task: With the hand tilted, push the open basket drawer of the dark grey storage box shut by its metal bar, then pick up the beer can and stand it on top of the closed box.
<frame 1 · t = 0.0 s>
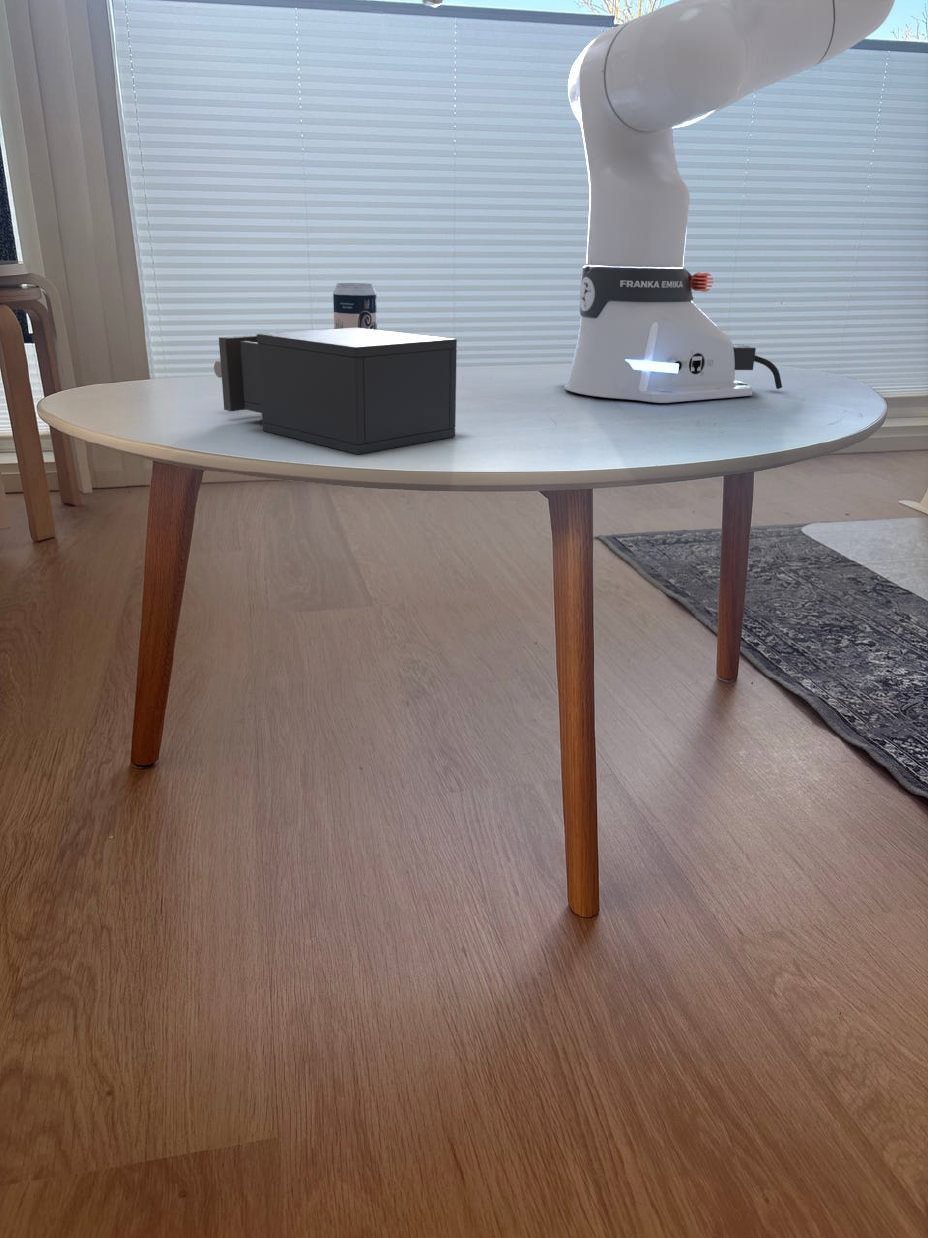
beer can: (357, 397, 106), on the table
drawer: (292, 374, 90), point 4 cm above the table, slide at 6.0 cm
dark grey storage box: (358, 433, 85), on the table
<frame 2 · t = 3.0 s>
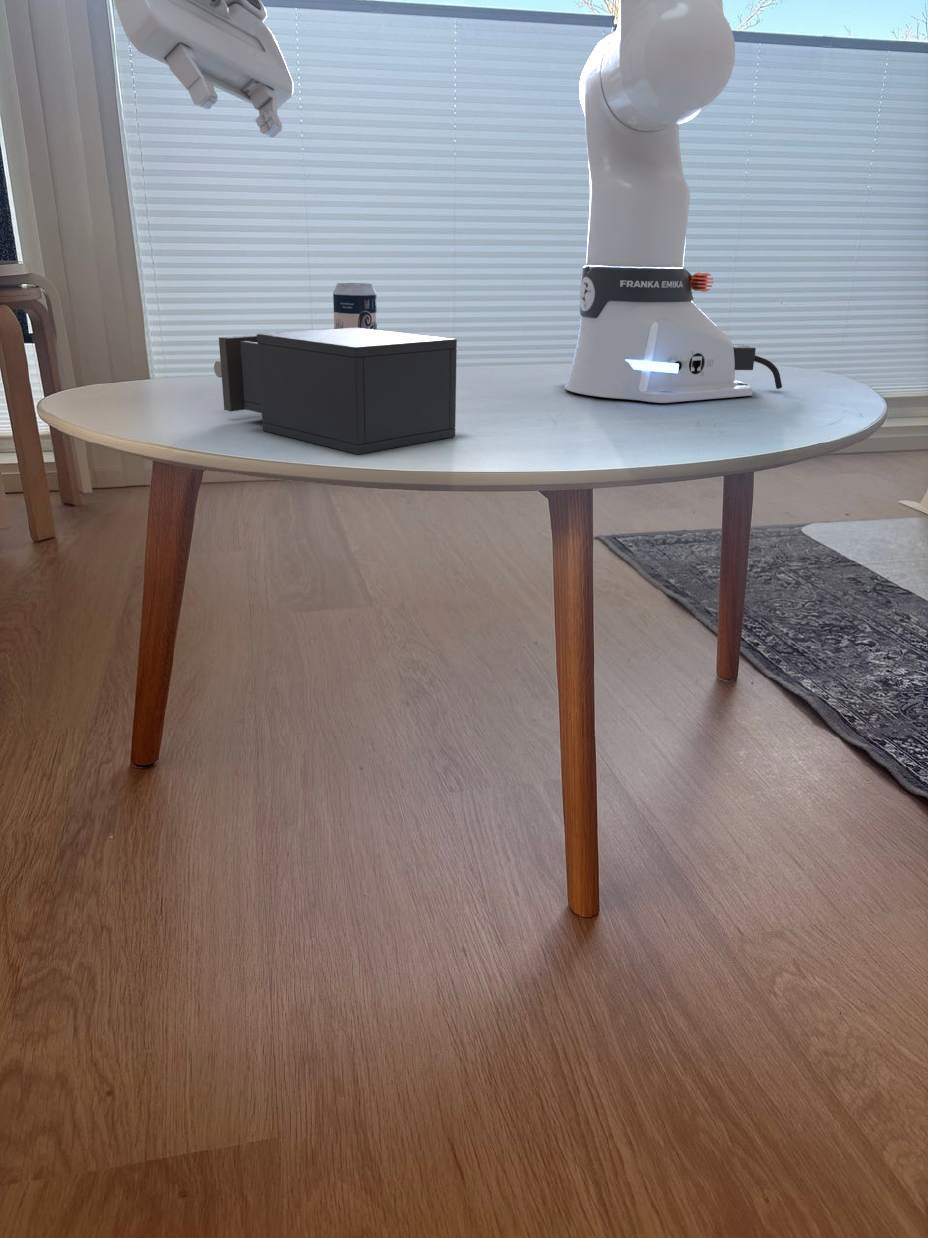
hand: (241, 118, 89), 27 cm above the table, tool tilted 35°, fingers open, 8 cm apart
nothing on the table moved.
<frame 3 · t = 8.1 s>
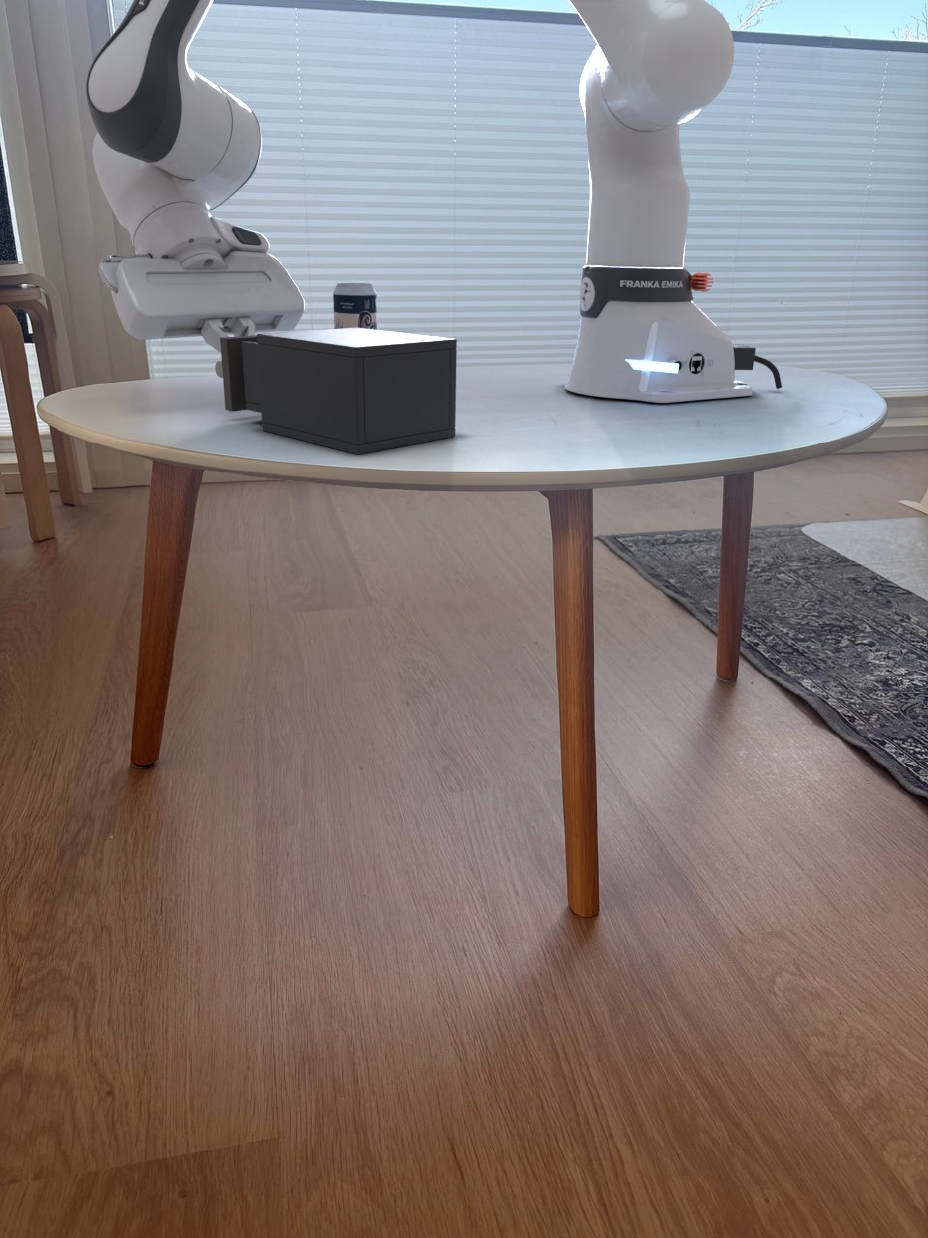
hand: (246, 361, 95), 5 cm above the table, tool tilted 45°, fingers closed, pressing on drawer
drawer: (293, 374, 90), point 4 cm above the table, slide at 5.8 cm, touching gripper
everything else where it was.
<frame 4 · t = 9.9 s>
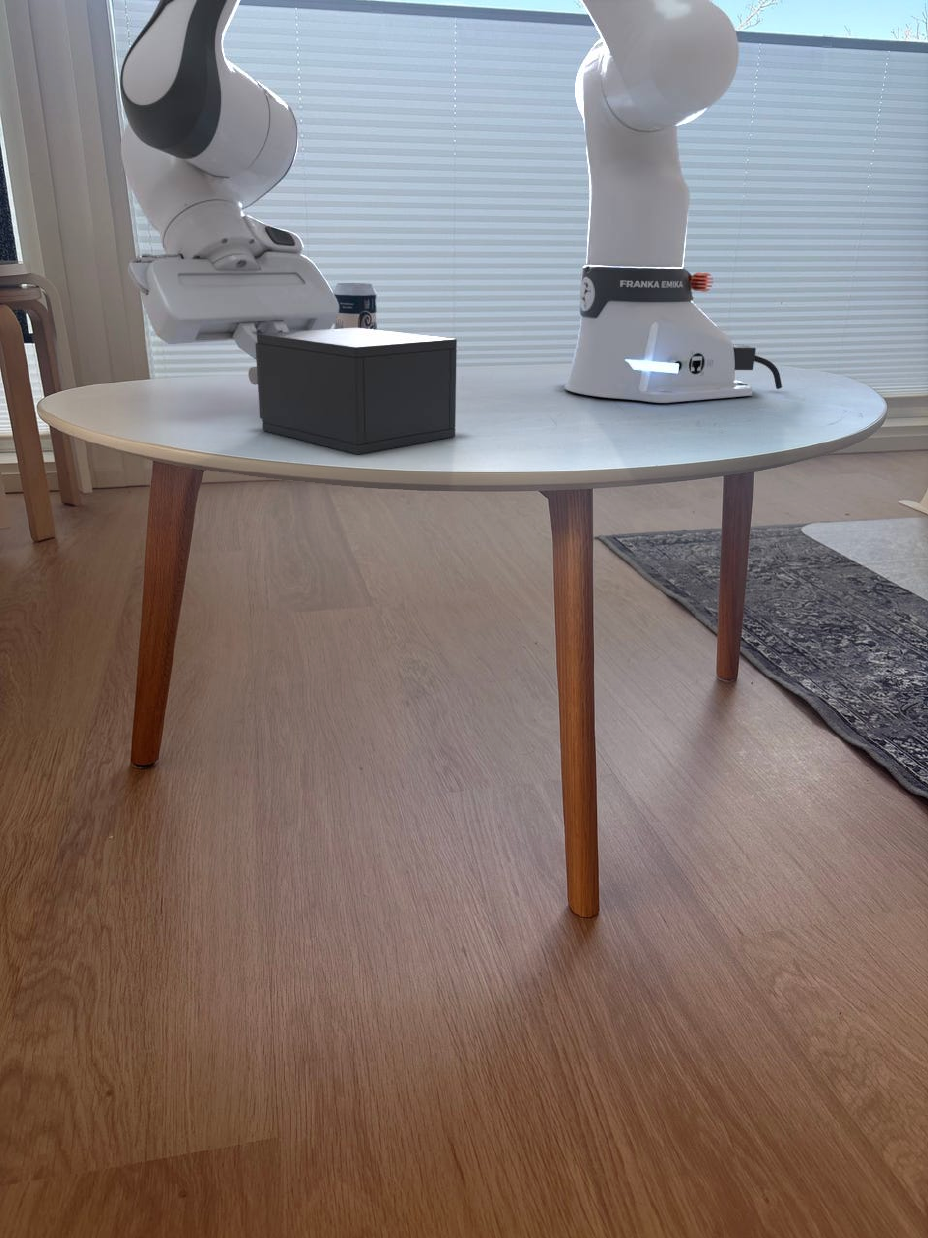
hand: (279, 366, 91), 5 cm above the table, tool tilted 45°, fingers closed, pressing on drawer
drawer: (331, 381, 86), point 4 cm above the table, slide at 0.0 cm, touching dark grey storage box, gripper
everything else where it was.
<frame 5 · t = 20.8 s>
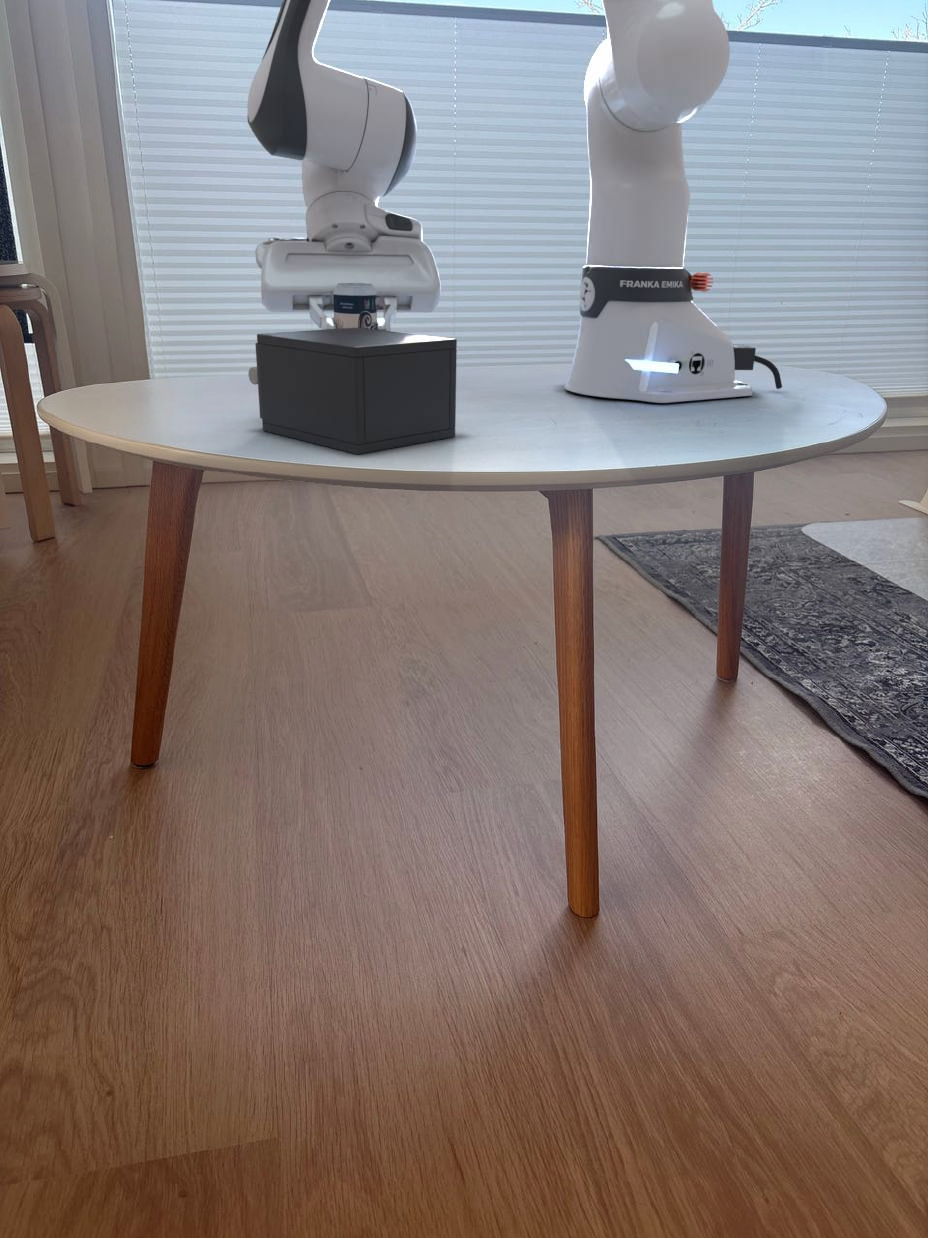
hand: (356, 335, 103), 7 cm above the table, tool tilted 45°, fingers closed on beer can, 5 cm apart
beer can: (357, 397, 106), on the table, touching gripper
drawer: (331, 381, 86), point 4 cm above the table, slide at 0.0 cm, touching dark grey storage box
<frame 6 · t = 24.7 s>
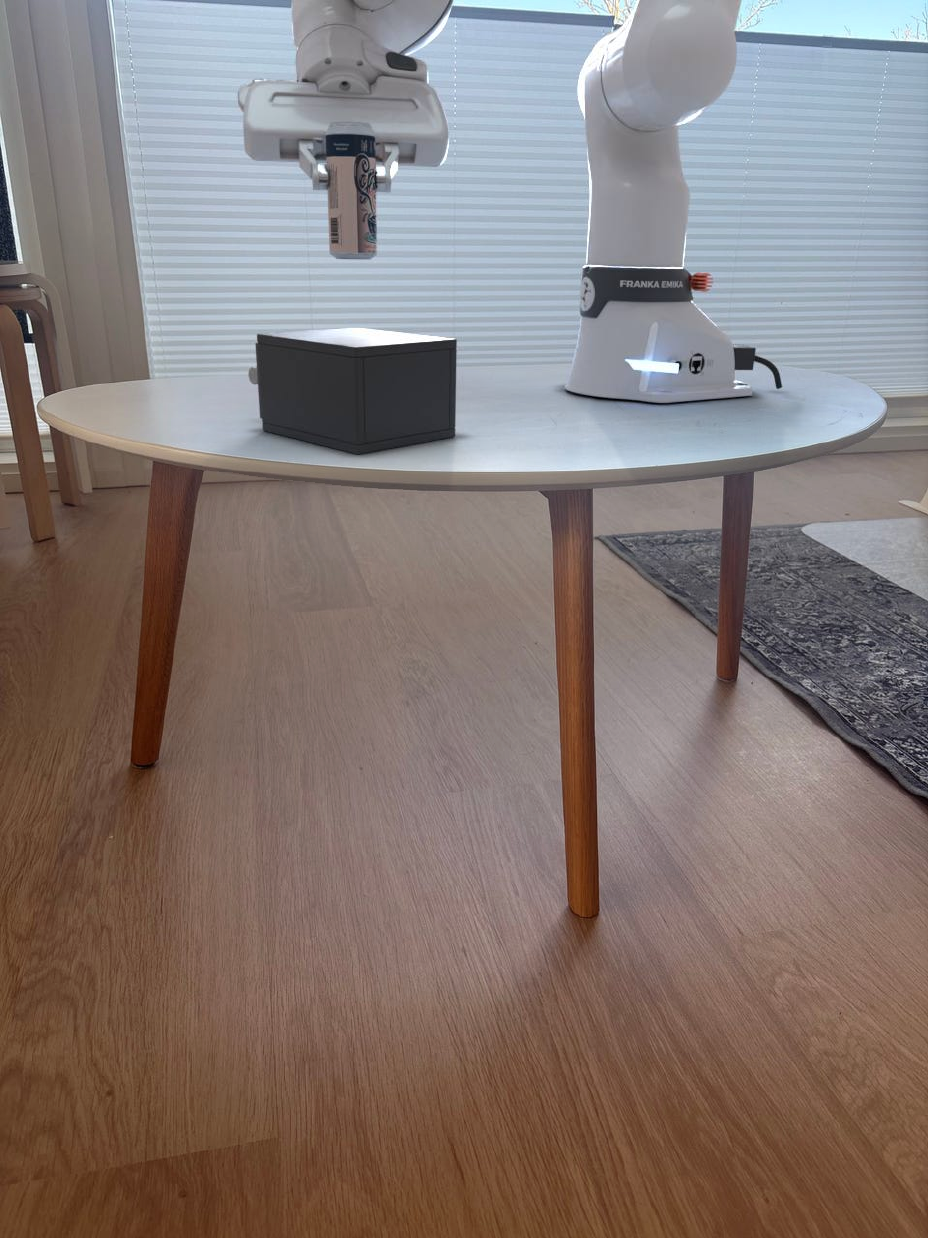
hand: (352, 186, 90), 21 cm above the table, tool tilted 45°, fingers closed on beer can, 5 cm apart
beer can: (353, 260, 93), point 14 cm above the table, touching gripper
everything else where it was.
when the fingers open (15 cm above the table, at t = 28.7 s): beer can stays where it is, resting on dark grey storage box.
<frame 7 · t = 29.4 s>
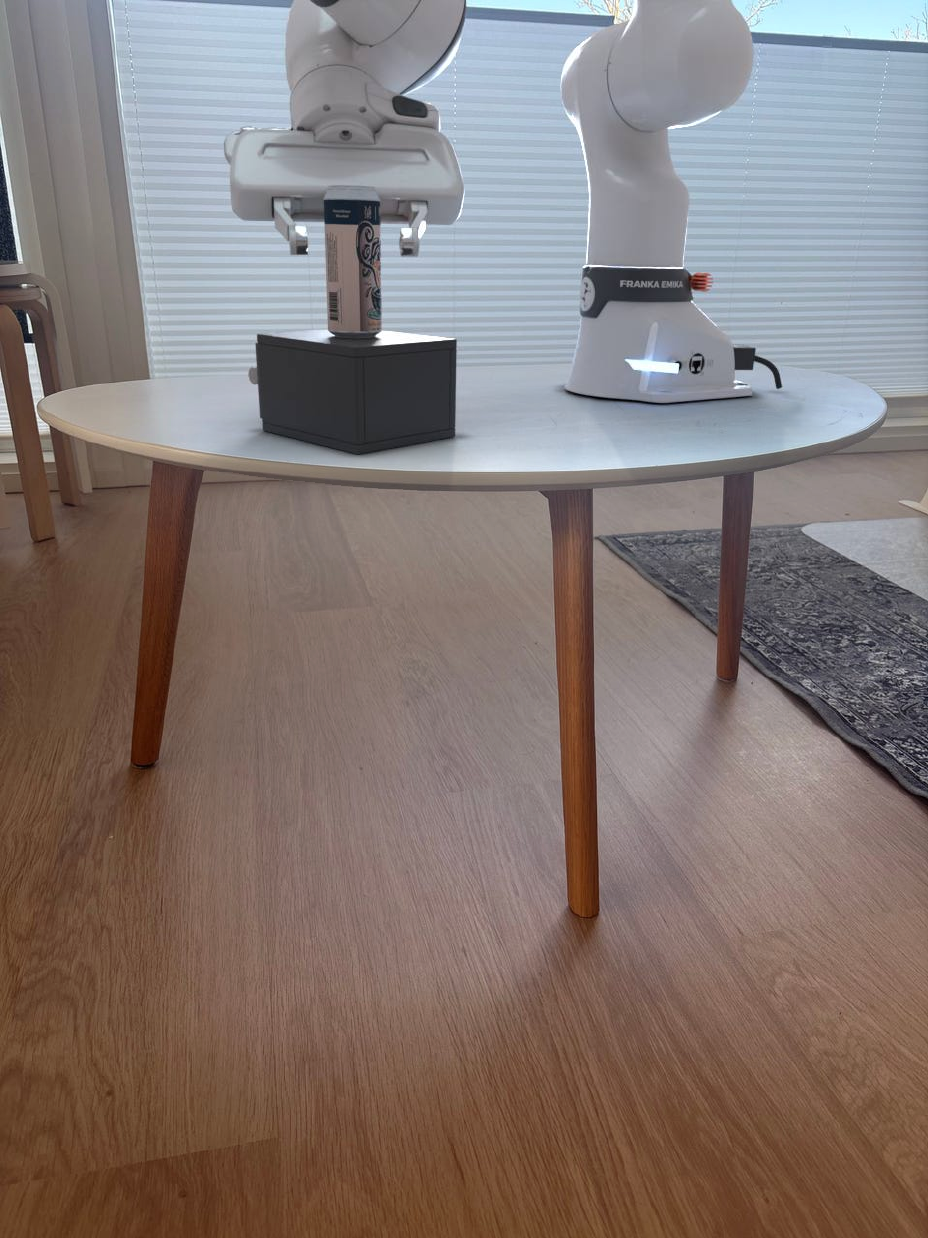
hand: (355, 250, 79), 16 cm above the table, tool tilted 45°, fingers open, 8 cm apart
beer can: (355, 338, 82), point 8 cm above the table, touching dark grey storage box
everything else where it was.
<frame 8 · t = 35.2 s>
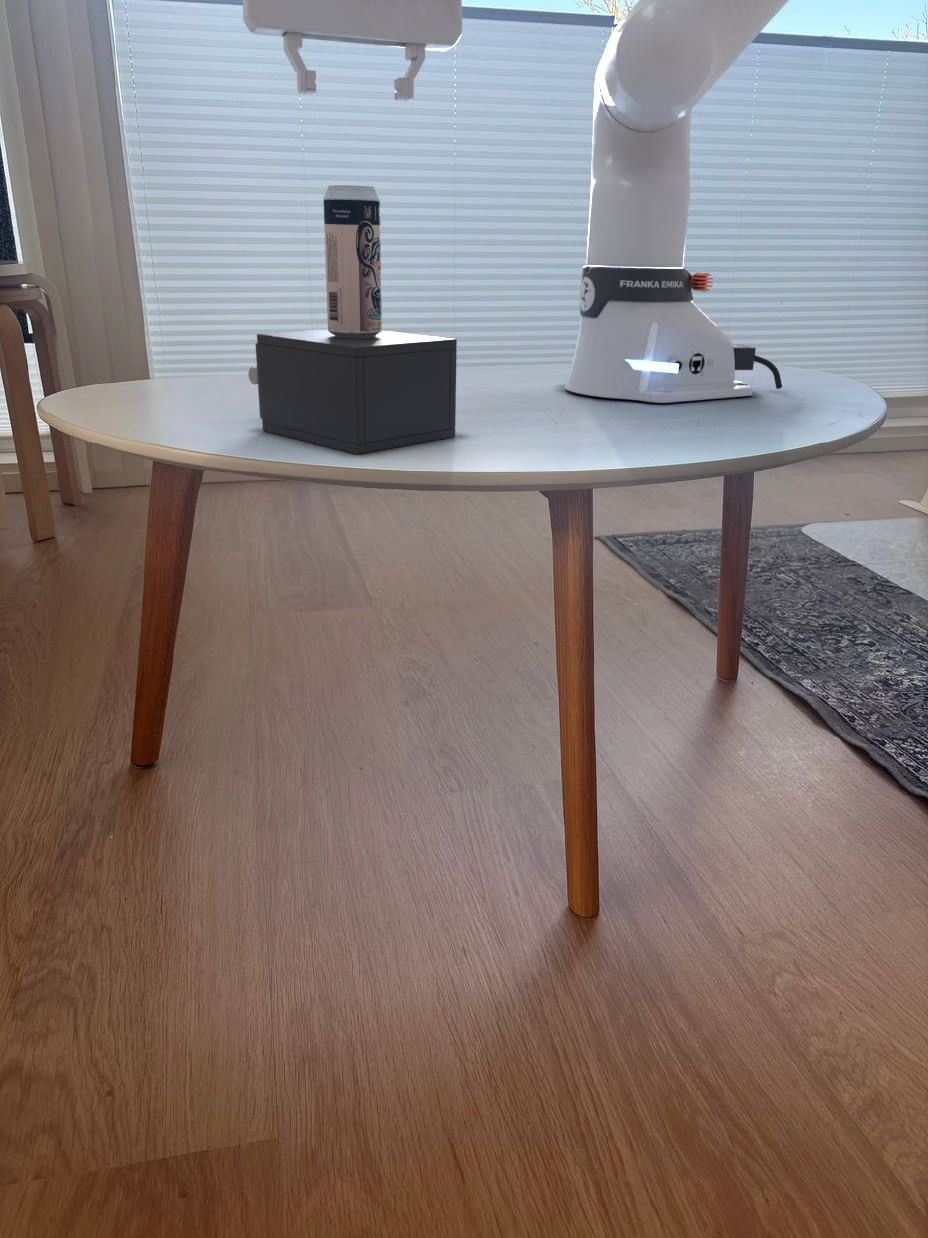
hand: (356, 96, 89), 29 cm above the table, tool pointing down, fingers open, 8 cm apart
nothing on the table moved.
at the end: drawer slide at 0.0 cm; beer can inside the target area on the dark grey storage box (0.1 cm from its centre), point 8.4 cm above the dark grey storage box's base; beer can tilted 0° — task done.
